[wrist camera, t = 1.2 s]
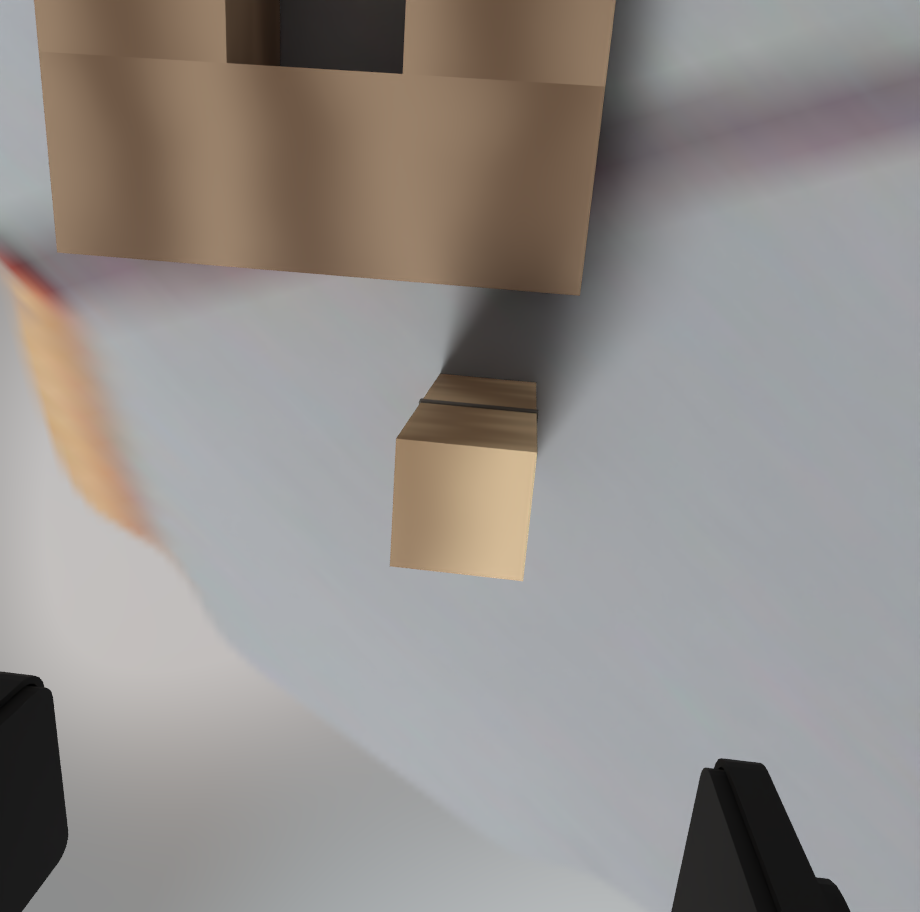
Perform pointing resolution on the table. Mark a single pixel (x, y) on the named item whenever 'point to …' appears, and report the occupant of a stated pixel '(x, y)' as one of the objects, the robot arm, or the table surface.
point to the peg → (466, 478)
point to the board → (328, 141)
